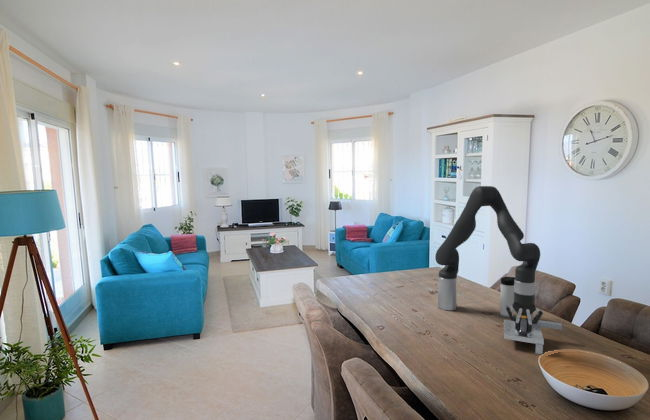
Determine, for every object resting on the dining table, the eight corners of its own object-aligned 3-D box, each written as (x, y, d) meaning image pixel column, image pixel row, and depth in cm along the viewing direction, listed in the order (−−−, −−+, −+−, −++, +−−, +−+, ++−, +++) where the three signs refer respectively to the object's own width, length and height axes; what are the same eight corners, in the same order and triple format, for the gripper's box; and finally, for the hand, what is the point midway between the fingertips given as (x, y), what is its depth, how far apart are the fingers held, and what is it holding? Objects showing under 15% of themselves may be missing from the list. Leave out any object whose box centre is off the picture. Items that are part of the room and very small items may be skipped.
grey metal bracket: (504, 348, 146) (504, 316, 145) (503, 331, 161) (504, 302, 160) (567, 359, 137) (569, 324, 135) (560, 340, 151) (561, 309, 150)
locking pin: (518, 338, 145) (519, 315, 144) (518, 335, 148) (518, 312, 147) (527, 340, 144) (528, 316, 143) (527, 336, 147) (528, 313, 146)
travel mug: (516, 318, 175) (517, 279, 173) (501, 317, 177) (502, 279, 174) (512, 313, 181) (513, 275, 179) (498, 312, 183) (499, 275, 181)
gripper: (505, 292, 144) (504, 332, 145) (545, 296, 137) (544, 338, 139) (505, 286, 150) (504, 325, 152) (543, 290, 144) (541, 330, 146)
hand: (523, 331), depth 146 cm, fingers closed on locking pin, 3 cm apart
